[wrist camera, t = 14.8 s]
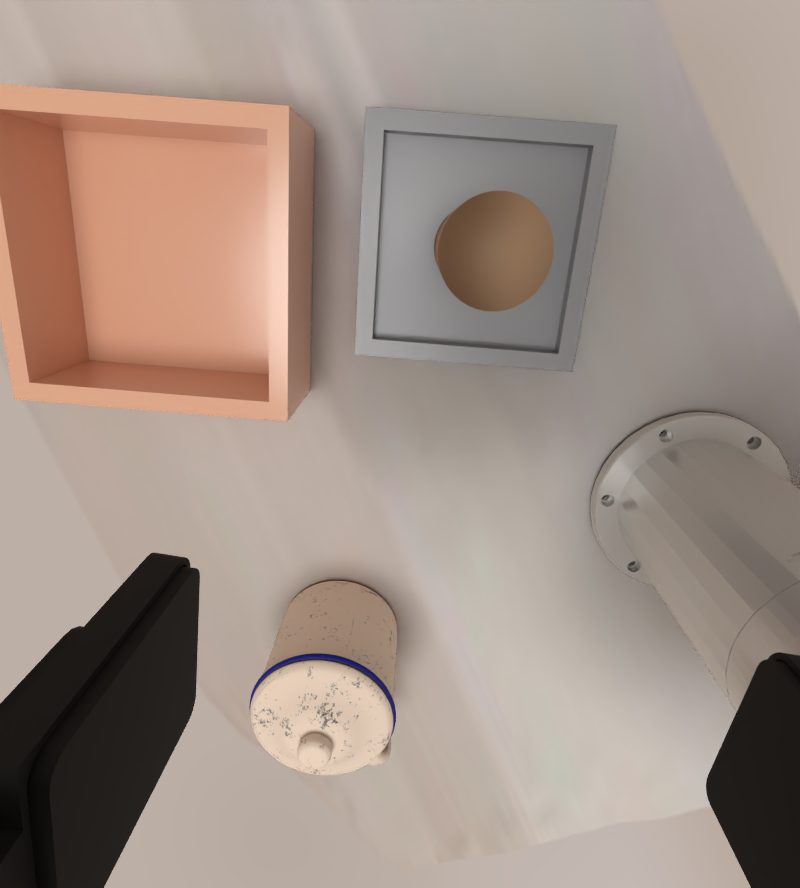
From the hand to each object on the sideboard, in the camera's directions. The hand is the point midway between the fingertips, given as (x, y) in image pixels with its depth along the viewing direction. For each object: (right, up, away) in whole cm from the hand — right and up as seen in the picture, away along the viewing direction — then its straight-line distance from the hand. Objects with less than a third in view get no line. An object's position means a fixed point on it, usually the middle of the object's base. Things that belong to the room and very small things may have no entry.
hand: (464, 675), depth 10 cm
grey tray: (+3, +15, +24) cm, 29 cm away
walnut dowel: (+3, +15, +23) cm, 28 cm away
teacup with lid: (-5, -11, +35) cm, 37 cm away
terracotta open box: (-14, +15, +25) cm, 32 cm away
